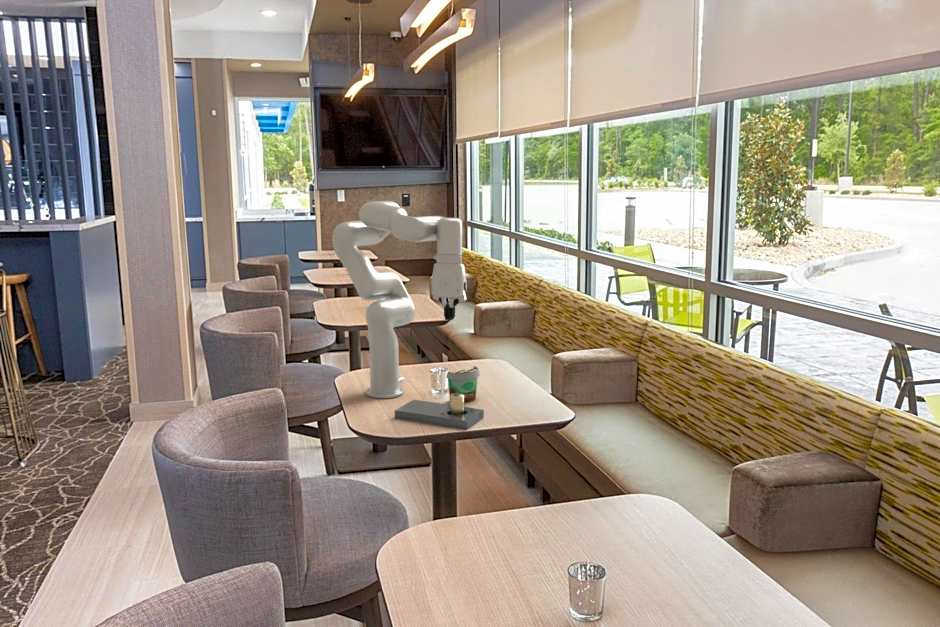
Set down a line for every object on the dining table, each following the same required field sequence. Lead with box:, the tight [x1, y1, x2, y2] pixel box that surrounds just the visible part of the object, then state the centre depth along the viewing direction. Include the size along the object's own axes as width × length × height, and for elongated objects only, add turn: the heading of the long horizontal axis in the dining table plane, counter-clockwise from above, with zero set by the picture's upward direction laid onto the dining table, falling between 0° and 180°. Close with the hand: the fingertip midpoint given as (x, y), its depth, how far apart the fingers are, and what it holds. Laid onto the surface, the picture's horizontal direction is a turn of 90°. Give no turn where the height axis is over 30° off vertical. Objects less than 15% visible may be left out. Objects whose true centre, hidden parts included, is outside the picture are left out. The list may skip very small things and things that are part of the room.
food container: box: [446, 365, 481, 403], centre depth 250 cm, size 12×6×10 cm, turn 131°
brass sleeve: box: [450, 393, 465, 416], centre depth 230 cm, size 4×4×8 cm
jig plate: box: [394, 399, 485, 430], centre depth 233 cm, size 12×24×2 cm, turn 65°
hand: (449, 319), depth 234 cm, fingers closed
